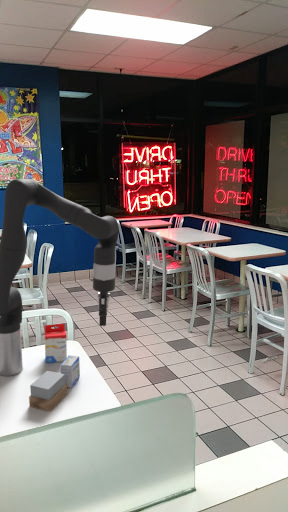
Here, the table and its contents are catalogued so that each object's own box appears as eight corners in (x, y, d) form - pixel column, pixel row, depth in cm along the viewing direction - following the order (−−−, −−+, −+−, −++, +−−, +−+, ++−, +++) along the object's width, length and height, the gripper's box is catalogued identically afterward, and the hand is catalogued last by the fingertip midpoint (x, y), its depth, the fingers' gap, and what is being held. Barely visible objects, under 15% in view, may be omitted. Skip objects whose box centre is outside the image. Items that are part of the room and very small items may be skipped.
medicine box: (72, 387, 143) (71, 366, 141) (60, 386, 144) (60, 364, 142) (80, 376, 151) (79, 356, 149) (69, 375, 151) (68, 354, 149)
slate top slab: (30, 395, 131) (30, 385, 131) (47, 380, 141) (47, 370, 140) (48, 400, 129) (48, 389, 128) (64, 384, 138) (64, 374, 137)
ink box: (45, 363, 160) (44, 329, 157) (45, 357, 165) (44, 325, 161) (67, 360, 162) (66, 327, 159) (66, 355, 167) (65, 323, 164)
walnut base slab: (29, 407, 132) (29, 396, 131) (47, 390, 142) (47, 380, 141) (50, 412, 129) (49, 401, 128) (67, 394, 139) (67, 384, 139)
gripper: (94, 269, 140) (93, 312, 144) (91, 281, 126) (90, 328, 130) (115, 270, 140) (114, 312, 144) (115, 282, 126) (113, 329, 130)
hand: (103, 320), depth 137 cm, fingers open, 8 cm apart
